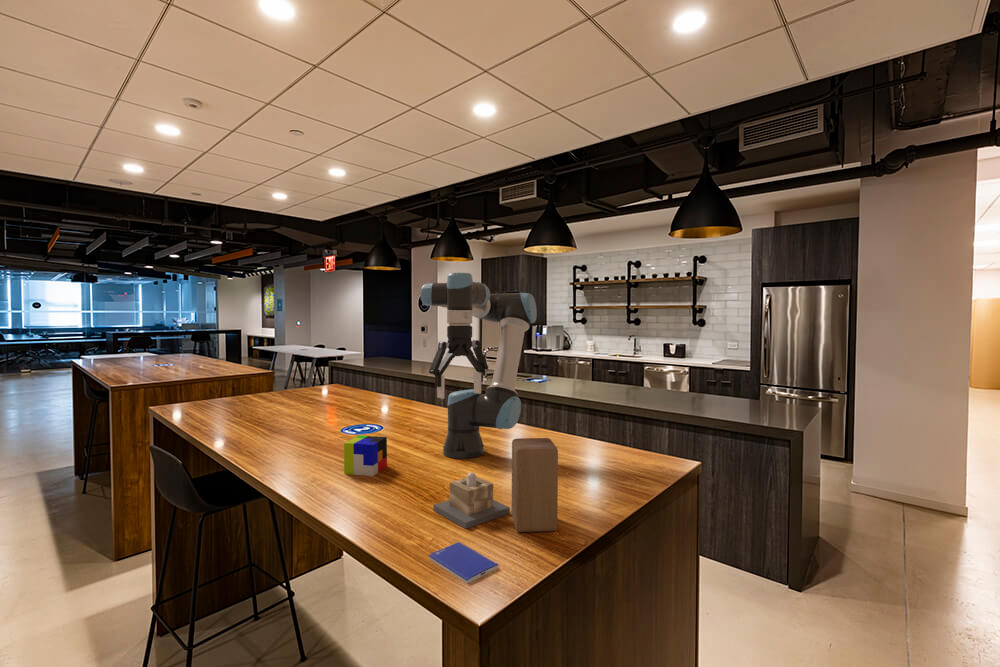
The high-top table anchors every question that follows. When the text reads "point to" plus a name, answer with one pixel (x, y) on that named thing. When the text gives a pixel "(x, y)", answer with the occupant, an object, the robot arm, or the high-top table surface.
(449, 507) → the post board
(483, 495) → the maple bead
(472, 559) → the hard drive
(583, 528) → the high-top table surface
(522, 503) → the wooden block
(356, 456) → the puzzle toy
